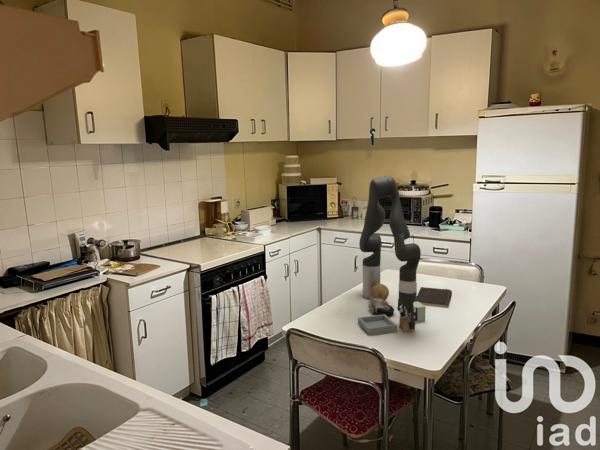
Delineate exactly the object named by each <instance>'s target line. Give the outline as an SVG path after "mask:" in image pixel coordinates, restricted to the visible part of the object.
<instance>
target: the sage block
mask: <svg viewBox="0 0 600 450" xmlns="http://www.w3.org/2000/svg"><path fill="white" fill-rule="evenodd" d="M413 305H414V307H417V312H418V321H415V323H421V322H422V323H424V322H426V305H422V304H421V303H420V302H414V303H413ZM405 314H406V313H405ZM409 314H411V313H409ZM406 316H407V315H406Z"/></svg>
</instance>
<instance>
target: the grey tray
mask: <svg viewBox="0 0 600 450" xmlns="http://www.w3.org/2000/svg"><path fill="white" fill-rule="evenodd" d="M357 325H358V326H359V327H360V328H361V329H362V330H363V331H364V332H365V333H366V334H367V335H368V336H375V335H381V334H382V335H383V334H390V333H397V332H398V324H396V323H395V322H394V321H393V320H392V318H390V317H387V316H386V315H385V314H383V315H379V314H377V315H376V314H375V315H367V316H360V317H357Z"/></svg>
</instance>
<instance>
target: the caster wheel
mask: <svg viewBox="0 0 600 450" xmlns="http://www.w3.org/2000/svg"><path fill="white" fill-rule="evenodd" d="M367 308H368V310H369V312H370V313H371V316H374V313H376V314H377V315H383V314H385V315H386V316H387V317H388V318H390V317H393V315H394V314H395V313H394V312H395V309H394V306H392V305H390V304H388V303H387V300H383V299H375V298H372V296H371V298H370V299H369V302H368V306H367Z"/></svg>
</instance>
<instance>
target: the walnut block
mask: <svg viewBox="0 0 600 450" xmlns="http://www.w3.org/2000/svg"><path fill="white" fill-rule="evenodd" d="M410 317H411V316H410ZM398 322H399V328H400V330H402V332H404V333H407V332H414V331H416V322H414V329H413V330H410V329H409V318H408V316H402V317H400V316H399V321H398Z"/></svg>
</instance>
